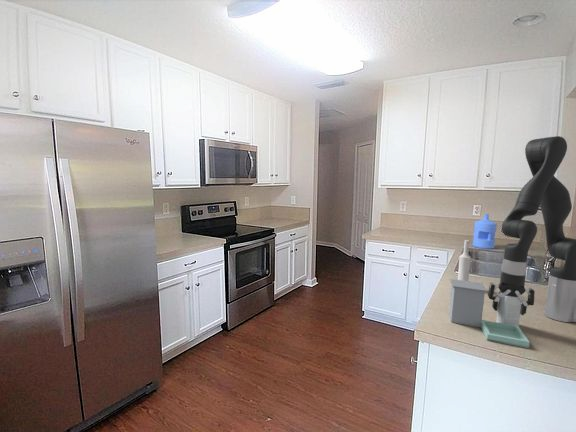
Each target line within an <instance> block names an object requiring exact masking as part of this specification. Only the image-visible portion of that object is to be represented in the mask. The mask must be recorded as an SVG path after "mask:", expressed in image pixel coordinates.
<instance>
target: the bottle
mask: <svg viewBox="0 0 576 432" xmlns="http://www.w3.org/2000/svg"><path fill="white" fill-rule="evenodd" d="M463 245H464V246H463V253H462V254H460V255H459V257H458V258H459V259H458V271H457V273H458V274H457V280H463V281H469V277H470V272H471V271H470V268H471V261H472V257H471V256H470V254H469V247H470V240H468V239H467V240H466V239H464V244H463Z"/></svg>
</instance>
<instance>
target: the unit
mask: <svg viewBox="0 0 576 432" xmlns="http://www.w3.org/2000/svg"><path fill="white" fill-rule="evenodd" d="M450 284H451V288H450V289H451V290H450V299H449V307H448V308H449V309H448V316H449V319H450V322H451V323H455V324H461V325H466V326H471V327H477V328H481V322H482V320H483V312H484V311H483V310H484V304H485V295H486V293H487V294H488V289H487V288H486V286H485V285H484V284H483V282H478V281H469V280H468V281H463V280H458V279H455V278H450Z"/></svg>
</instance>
